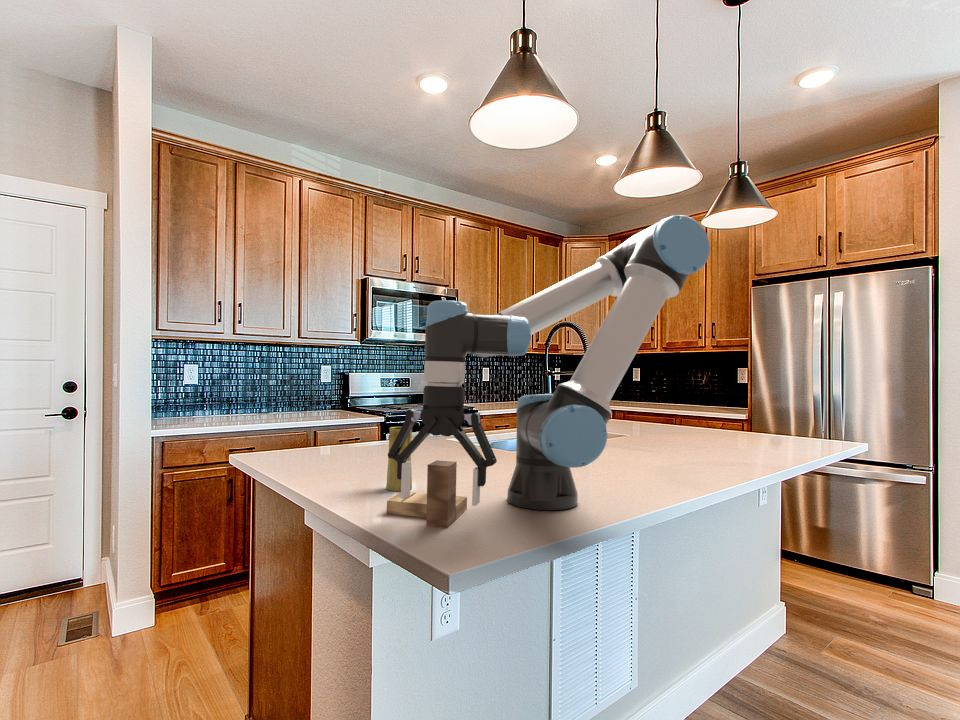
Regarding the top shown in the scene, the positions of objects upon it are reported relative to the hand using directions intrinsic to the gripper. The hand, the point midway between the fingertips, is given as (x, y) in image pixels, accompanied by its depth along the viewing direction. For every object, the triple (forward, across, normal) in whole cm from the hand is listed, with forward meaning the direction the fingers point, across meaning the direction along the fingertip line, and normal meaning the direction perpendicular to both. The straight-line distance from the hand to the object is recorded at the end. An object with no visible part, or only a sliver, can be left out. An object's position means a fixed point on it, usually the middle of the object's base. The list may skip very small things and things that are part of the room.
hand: (439, 500), depth 97 cm
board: (+4, +5, -7) cm, 9 cm away
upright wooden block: (+4, 0, -3) cm, 5 cm away
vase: (+4, +18, -24) cm, 30 cm away
